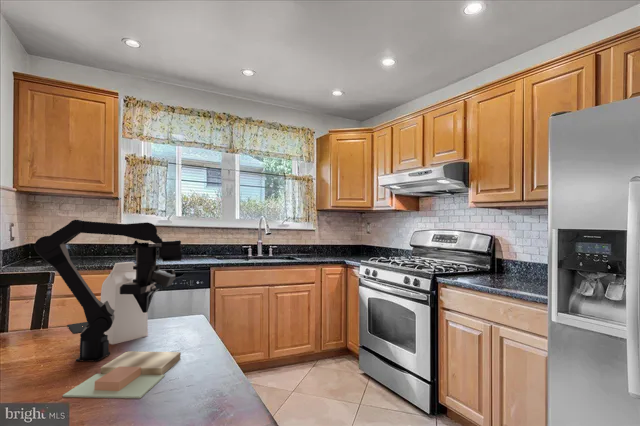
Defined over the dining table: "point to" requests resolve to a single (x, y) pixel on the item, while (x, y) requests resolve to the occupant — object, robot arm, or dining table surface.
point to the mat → (129, 391)
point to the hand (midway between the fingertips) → (145, 312)
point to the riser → (144, 362)
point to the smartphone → (77, 327)
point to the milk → (123, 306)
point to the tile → (117, 378)
